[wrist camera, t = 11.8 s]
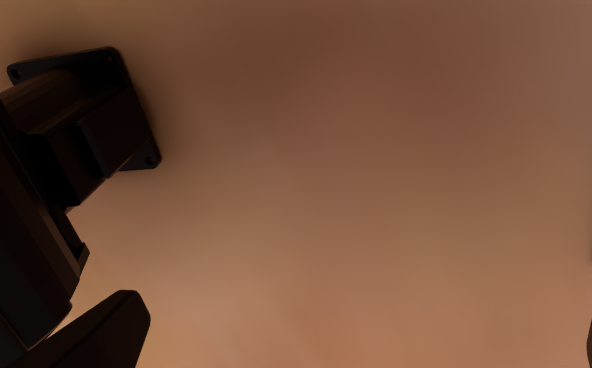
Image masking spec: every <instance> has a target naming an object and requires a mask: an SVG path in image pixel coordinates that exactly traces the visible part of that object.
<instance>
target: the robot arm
mask: <svg viewBox="0 0 592 368" xmlns="http://www.w3.org/2000/svg"><path fill="white" fill-rule="evenodd" d="M106 55H108V56H109V57H110V58H111V61H112V62H110V61H108V59H107V57H106ZM17 71H18V72H19V73H20V75H19V73H18V72H17ZM7 74H8V76H9V78H10V80H11V81H12V83H13V85H14V86H13V87H11V88H9V89H7V90H5V91H3V92H1V93H0V368H135V367H136V364H137V361H138V358H139V355H140V353H141V350H142V347H143V344H144V341H145V338H146V335H147V332H148V330H149V327H150V322H151V318H150V314H149V311H148V310H147V308H146V306H145V304H144V302H143V300H142V298H141V296H140V294H139V293H138V292H137V291H135V290H119V291H117V292H115V293H114V294H112V295H111V296H109V297H108V298H106V299H105V300H103V301H102V302H100V303H99V304H97V305H96V306H94V307H93V308H92V309H90V310H89V311H87V312H86V313H84V314H83V315H81V316H80V317H78V318H77V319H75V320H74V321H72V322H71V323H69V324H68V325H66V326H65V327H64V328H62V329H61V330H59V331H58V332H56V333H55V334H53V335H52V336H50V335H51V333H52V332H53V331H54V330H55V329H56V328H57V327H58V326H59V325H60V323H61V322H62V321H63V320H64V319H65V318H66V317H67V315H68V314H69V312H70V311H71V309H72V304H71V302H70V299H71V297H72V295H73V293H74V291H75V289H76V287H77V285H78V283H79V281H80V275H81V273H82V271H83V268H84V266H85V264H86V261H87V259H88V256H89V254H90V251H89V250H88V248H87V246H86V244H85V243H84V242H81V240H80V238H79V237H78V235H77V233H76V231H75V229H74V228H73V226H72V224H71V222H70V221H69V219H68V217H67V215H66V214H68V213H69V212H70V211H71V210H72V209H73V208H74V207H75V206H79V205H80V204H81V203H82V202H84V201H85V200H86V199H87V198H88V197H89V196H90V195H91V194H92V193H93V192H94V191H95V190H96V189H97V188H98V187H99V186H100V185H101V184H102V183H103V182H104V181H105V180H106V179H109V178H111V177H112V176H113V175H114V174H115V173H116V172H117V171H130V170H144V169H154V168H156V167H157V166H158V165H159V164H160V163H161V156H160V153H159V151H158V149H157V146H156V144H155V141H154V139H153V136H152V132H151V130H150V127H149V125H148V122H147V120H146V117H145V115H144V112H143V110H142V107H141V105H140V103H139V100H138V98H137V95H136V93H135V91H134V89H133V87H132V84H131V82H130V79H129V77H128V74H127V72H126V69H125V67H124V64H123V62H122V59H121V57H120V55H119V53H118V52H117V51H116V50H115V49H114V48H112V47H103V48H97V49H91V50H85V51H79V52H73V53H67V54H61V55H55V56H49V57H43V58H37V59H32V60H26V61H20V62H15V63H13V64H11V65H9V66H8V67H7ZM149 157H150V158H152V159H153V161H151V160H150V159H149ZM48 336H50V337H49V338H47V337H48ZM46 338H47V339H46ZM45 339H46V340H45ZM587 356H588V361H589V365H590V368H592V320H591V325H590V329H589V334H588V338H587Z"/></svg>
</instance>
